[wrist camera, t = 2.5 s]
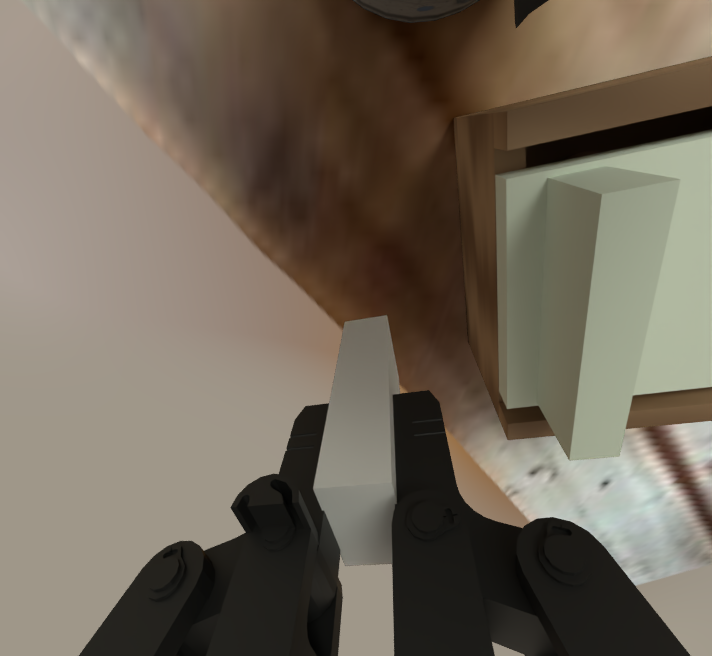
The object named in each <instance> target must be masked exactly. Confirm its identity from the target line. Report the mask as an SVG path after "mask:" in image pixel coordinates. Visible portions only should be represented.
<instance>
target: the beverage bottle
mask: <svg viewBox="0 0 712 656" xmlns="http://www.w3.org/2000/svg"><path fill="white" fill-rule="evenodd" d="M353 1H354V2H356V3H357V4H358V5H359V6H361V7H362V8H363V9H366V10H368V11H370V12H372V13H375V14H377V15H379V16H381V17H384V18H386V19H391V20H397V21H403V22H409V23H413V22H425V21H435V20H438V19H441V18H444V17H447V16H450V15H453V14H456V13H459V12H461V11H463V10H464V9H466V8H468V7H469V6H471V5H473V4H474V3H476V2H478V1H479V0H353ZM547 1H548V0H514V9H515V25H516V28H517V27H518V26H519V25H520V23H521V22H522V21H523V20H524V19H525V18H526V17H527V16H528V14H529V13H531V12H532V11H534V10H535V9H537V8H538V7H540V6H541V5H542V4H544V3H545V2H547Z"/></svg>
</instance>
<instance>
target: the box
mask: <svg viewBox="0 0 712 656" xmlns="http://www.w3.org/2000/svg"><path fill="white" fill-rule="evenodd" d="M710 129H712V56H711V57H707V58H702V59H698V60H694V61H690V62H686V63H682V64H677V65H673V66H669V67H665V68H661V69H656V70H652V71H648V72H644V73H640V74H636V75H631V76H627V77H623V78H619V79H615V80H610V81H606V82H602V83H598V84H594V85H590V86H585V87H581V88H577V89H573V90H569V91H564V92H560V93H556V94H552V95H548V96H544V97H539V98H535V99H531V100H527V101H523V102H518V103H514V104H510V105H506V106H502V107H497V108H493V109H489V110H485V111H481V112H477V113H472V114H468V115H464V116H460V117H456V118H454V133H455V148H456V163H457V178H458V193H459V209H460V224H461V239H462V254H463V269H464V285H465V300H466V315H467V330H468V342H469V345H470V347H471V350H472V352H473V355H474V357H475V360H476V362H477V365H478V367H479V370H480V372H481V375H482V377H483V380H484V382H485V385H486V387H487V390H488V392H489V395H490V397H491V399H492V402H493V404H494V407H495V409H496V412H497V414H498V417H499V419H500V422H501V424H502V427H503V429H504V432H505V434H506V437H507V439H508V440H514V439H524V438H535V437H545V436H555V434H554V432H553V431H552V429H551V427H550V425H549V423H548V422H547V420H546V418H545V416H544V415H543V413H542V411H541V409H540V407H539V406H530V407H521V408H512V409H507V408H506V405H505V403H504V401H503V399H502V396H501V394H500V392H499V360H498V301H497V243H496V185H495V175H496V174H501V173H506V172H511V171H515V170H520V169H525V168H530V167H534V166H539V165H544V164H549V163H553V162H558V161H562V160H563V159H565V158H566V157H568V156H570V155H573V154H575V153H579V152H583V151H600V152H606V151H610V150H615V149H620V148H625V147H630V146H634V145H639V144H644V143H649V142H653V141H658V140H663V139H668V138H672V137H677V136H682V135H687V134H691V133H696V132H701V131H706V130H710ZM703 421H712V387H706V388H697V389H687V390H678V391H669V392H660V393H650V394H641V395H633V397H632V402H631V406H630V411H629V415H628V420H627V424H626V429H630V428H640V427H651V426H661V425H672V424H682V423H693V422H703Z"/></svg>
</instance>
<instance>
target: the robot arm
mask: <svg viewBox="0 0 712 656" xmlns="http://www.w3.org/2000/svg"><path fill="white" fill-rule="evenodd" d="M290 436H291V438H290V439H289V441H288V445H287V451H286V452H285V455H284V458H283V462H282V465H281V468H280V472H279V474H271V475H267V476H263V477H260V478H259V479H257V480H255V481H253V482H252V483H250V484H248V485H247V486H246V487H245V488H244V489H243V490H242V492H240V493H239V494H238V496H237V497H236V499H235V501H234V503H233V504H232V506H231V509H232V511H233V512H234V514H235V516H236V517H237V519H238V520H239V522H240V524H241V525H242V527H243V529H244V530H245V532H246V533H244V534H242V535H240V536H238V537H237V538H235V539H232V540H230V541H227V542H225V543H222V544H220V545H217V546H215V547H212V548H210V549H207V550H205V551H203V549H202V548H201V547H200V546H199V545H197V544H196V543H194V542H193V541H180V542H177V543H174V544H172V545H169V546H167V547H166V548H164V549H163V550H162V551H160V552H159V553H158V554H156V555H155V556H154V557H153V558H152V559H151V560H150V561H149V562H148V563H147V564H146V565H145V567H144V568H143V569H142V570H141V571H140V573H139V574H138V576H137V577H136V578H135V580H134V581H133V582H132V584H131V585H130V587H129V588H128V589H127V590H126V592H125V593H124V595H123V596H122V597H121V599H120V600H119V601H118V603H117V604H116V606H115V607H114V608H113V610H112V611H111V612H110V614H109V615H108V616H107V618H106V619H105V621H104V622H103V623H102V625H101V626H100V627H99V629H98V630H97V632H96V633H95V634H94V636H93V637H92V638H91V640H90V641H89V642H88V644H87V645H86V647H85V648H84V649H83V651H82V652H81V653H80V655H79V656H338V647H339V635H340V623H341V611H342V598H343V597H342V585H341V583H340V581H339V578H338V570H339V560H340V555H341V557H342V560H343V562H344V564H345V566H352V565H376V564H392V567H393V610H394V611H393V613H394V656H495V655H494V650H493V646H492V642H494V643H497V644H499V645H502V646H504V647H507V648H509V649H512V650H514V651H517V652H520V653H522V654H524V655H525V656H690V654H689V653H688V652H687V651H686V649H685V648H684V647H683V646H682V644H681V643H680V642H679V641H678V639H677V638H676V637H675V636H674V634H673V633H672V632H671V631H670V629H669V628H668V627H667V625H666V624H665V623H664V622H663V620H662V619H661V618H660V617H659V615H658V614H657V613H656V612H655V610H654V609H653V608H652V607H651V605H650V604H649V603H648V601H647V600H646V599H645V598H644V596H643V595H642V594H641V593H640V592H639V590H638V589H637V588H636V586H635V585H634V584H633V583H632V581H631V580H630V579H629V578H628V576H627V575H626V574H625V572H624V571H623V570H622V569H621V567H620V566H619V565H618V564H617V562H616V561H615V560H614V559H613V557H612V556H611V555H610V554H609V552H608V551H607V550H606V549H605V547H604V546H603V545H602V544H601V543H600V542H599V541H598V540H597V539H596V538H595V537H594V536H593V535H591V534H590V533H589V532H588V531H587V530H585V529H583V528H581V527H579V526H578V525H576V524H574V523H572V522H570V521H566V520H562V519H558V518H554V517H550V518H540V519H535V520H534V521H532V522H530V523H529V524H527V525H525V526H524V527H523V528H520V527H516V526H512V525H508V524H504V523H500V522H497V521H494V520H491V519H488V518H486V517H483V516H482V515H480V514H479V513H477V512H475V511H474V510H473V509H472V508H471V507H470V506H469V505H468V504H466V503H465V501H464V499H463V498H462V496H461V495H460V493H459V490H458V487H457V484H456V480H455V475H454V470H453V465H452V461H451V456H450V451H449V446H448V442H447V437H446V432H445V427H444V422H443V418H442V413H441V408H440V403H439V401H438V400H437V399H436V398H435V397H434V396H433V395H432V393H431V392H430V391H429V390H427V391H419V392H410V393H402V394H400V388H399V376H398V371H397V366H396V360H395V355H394V350H393V344H392V339H391V334H390V329H389V323H388V318H387V315H385V316H378V317H372V318H366V319H359V320H353V321H346V322H345V323H344V328H343V334H342V339H341V344H340V350H339V355H338V360H337V365H336V371H335V376H334V381H333V387H332V392H331V397H330V402H329V403H328V404H320V405H312V406H305V408H304V409H303V410H302V412H301V413H300V414H299V415H298V417H297V418H296V419H295V421H294V425H293V428H292V431H291V435H290Z"/></svg>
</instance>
